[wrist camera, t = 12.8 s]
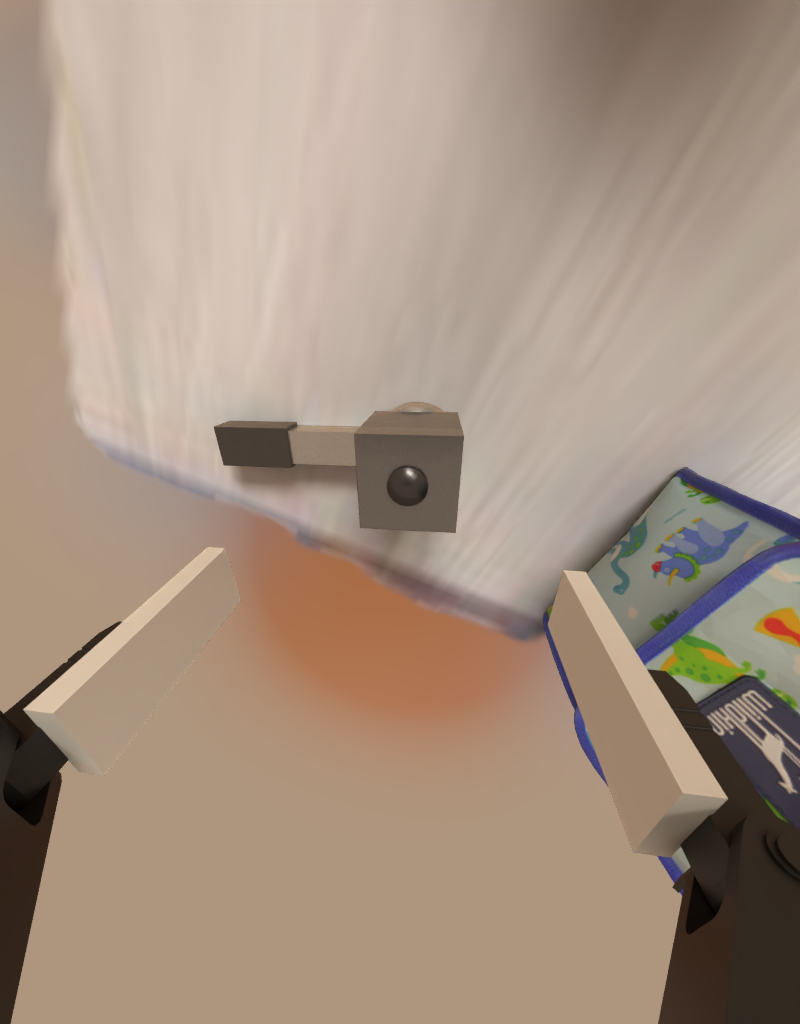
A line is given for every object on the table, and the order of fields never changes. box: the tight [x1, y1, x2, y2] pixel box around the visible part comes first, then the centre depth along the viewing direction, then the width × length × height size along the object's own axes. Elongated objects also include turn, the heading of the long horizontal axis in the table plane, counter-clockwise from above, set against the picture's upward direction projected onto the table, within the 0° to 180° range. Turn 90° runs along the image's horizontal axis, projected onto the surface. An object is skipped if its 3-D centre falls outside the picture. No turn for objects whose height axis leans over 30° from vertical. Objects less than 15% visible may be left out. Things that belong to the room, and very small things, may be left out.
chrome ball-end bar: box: [214, 402, 443, 468], centre depth 29 cm, size 8×23×8 cm, turn 90°
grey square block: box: [354, 411, 464, 533], centre depth 26 cm, size 7×7×8 cm
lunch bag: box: [543, 467, 800, 896], centre depth 24 cm, size 22×17×26 cm
